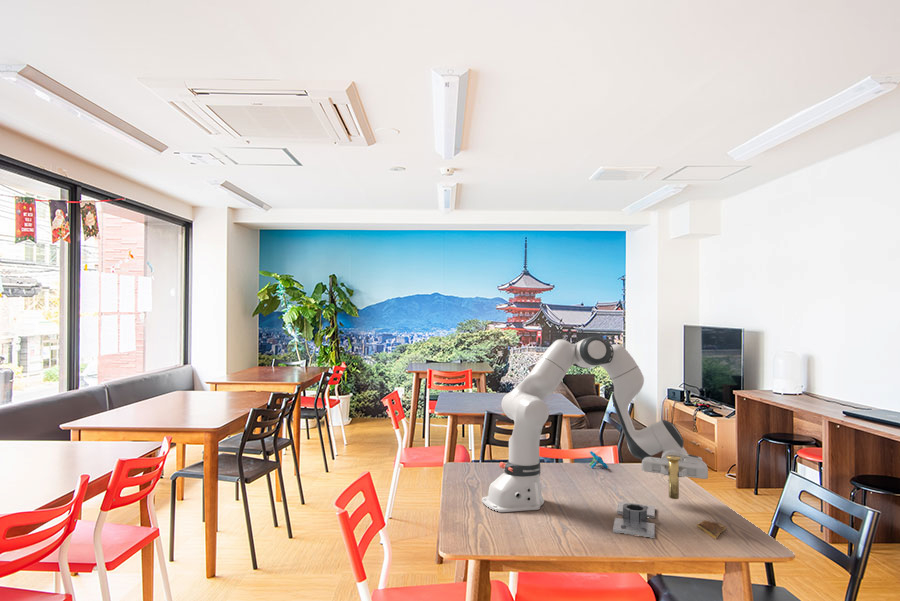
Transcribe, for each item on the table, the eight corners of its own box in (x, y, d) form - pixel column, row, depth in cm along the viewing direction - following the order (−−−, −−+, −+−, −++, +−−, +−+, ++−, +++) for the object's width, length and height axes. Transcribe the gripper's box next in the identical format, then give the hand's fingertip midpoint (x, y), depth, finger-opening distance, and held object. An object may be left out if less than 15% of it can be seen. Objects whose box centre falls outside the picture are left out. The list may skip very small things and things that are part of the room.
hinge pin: (674, 500, 160) (673, 458, 161) (663, 496, 164) (663, 455, 165) (684, 498, 162) (683, 457, 163) (673, 494, 166) (673, 454, 167)
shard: (716, 541, 151) (716, 535, 152) (689, 534, 157) (689, 528, 157) (727, 531, 159) (727, 525, 159) (701, 524, 165) (701, 518, 165)
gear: (612, 467, 222) (595, 451, 224) (603, 477, 221) (586, 460, 223) (604, 464, 233) (588, 448, 234) (596, 473, 232) (580, 457, 234)
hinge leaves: (654, 538, 152) (654, 525, 152) (612, 532, 156) (612, 519, 157) (654, 508, 177) (654, 497, 177) (618, 504, 181) (618, 492, 182)
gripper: (642, 450, 180) (639, 459, 167) (706, 457, 171) (708, 467, 159) (642, 468, 179) (639, 479, 167) (707, 476, 171) (708, 488, 158)
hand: (673, 473), depth 163 cm, fingers closed on hinge pin, 3 cm apart
